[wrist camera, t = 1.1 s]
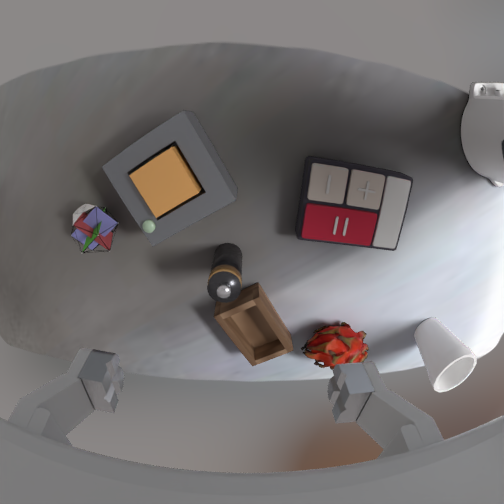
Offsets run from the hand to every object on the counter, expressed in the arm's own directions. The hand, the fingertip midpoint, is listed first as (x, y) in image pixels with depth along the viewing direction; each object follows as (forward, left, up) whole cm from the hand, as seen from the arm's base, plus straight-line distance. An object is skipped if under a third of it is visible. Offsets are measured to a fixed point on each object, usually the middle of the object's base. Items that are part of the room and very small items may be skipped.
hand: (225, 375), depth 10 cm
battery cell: (+7, +8, -32) cm, 34 cm away
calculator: (-12, +9, -33) cm, 36 cm away
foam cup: (-19, +41, -32) cm, 56 cm away
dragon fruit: (-1, +30, -32) cm, 44 cm away
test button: (+7, -6, -28) cm, 29 cm away
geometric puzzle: (+21, -6, -32) cm, 39 cm away
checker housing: (+7, -6, -32) cm, 33 cm away
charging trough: (+9, +20, -32) cm, 39 cm away
